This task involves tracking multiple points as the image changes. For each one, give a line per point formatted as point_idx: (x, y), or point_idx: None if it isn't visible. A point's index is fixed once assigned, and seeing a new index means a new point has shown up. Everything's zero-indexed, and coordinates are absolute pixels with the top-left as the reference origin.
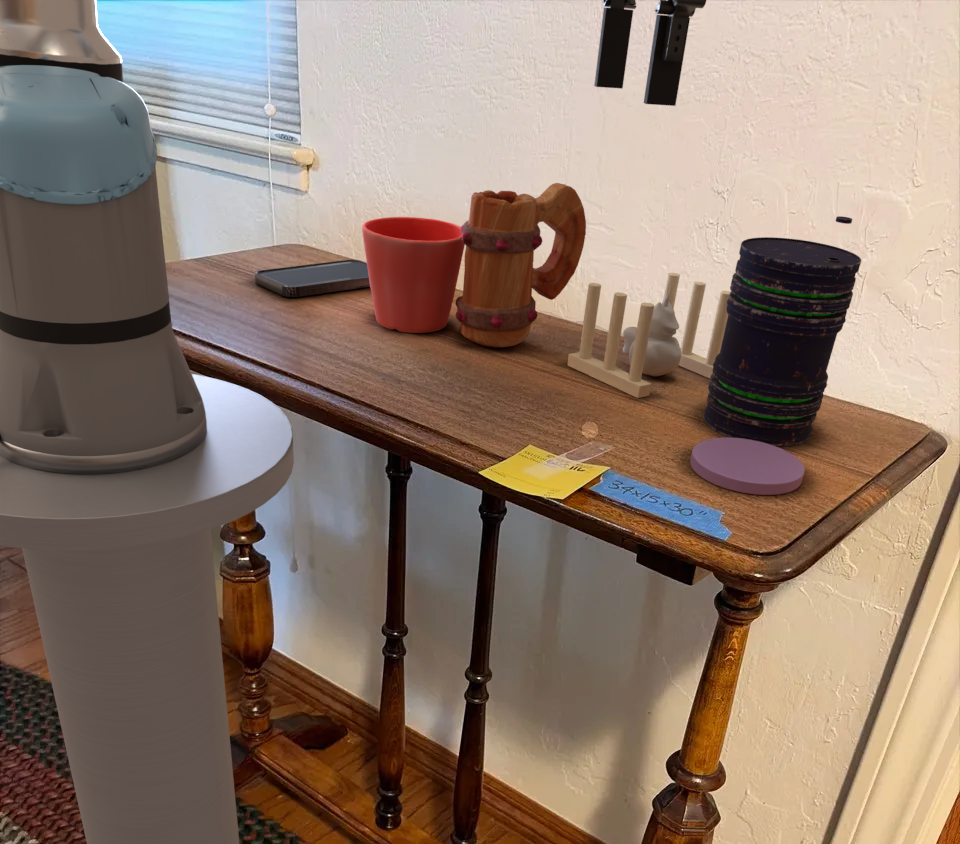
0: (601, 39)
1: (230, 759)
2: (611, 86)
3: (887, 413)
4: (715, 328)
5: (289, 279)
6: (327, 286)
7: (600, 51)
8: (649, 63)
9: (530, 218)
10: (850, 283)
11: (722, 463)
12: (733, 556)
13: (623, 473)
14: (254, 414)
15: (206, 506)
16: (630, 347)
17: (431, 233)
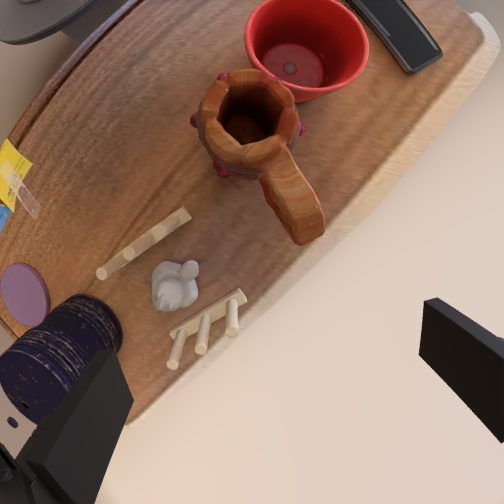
0: (486, 339)
1: None
2: (422, 333)
3: (139, 415)
4: (173, 344)
5: None
6: (363, 15)
7: (468, 328)
8: (85, 391)
9: (218, 151)
10: (26, 404)
11: (13, 279)
12: None
13: (9, 219)
14: (61, 7)
15: None
16: (181, 266)
17: (353, 66)
